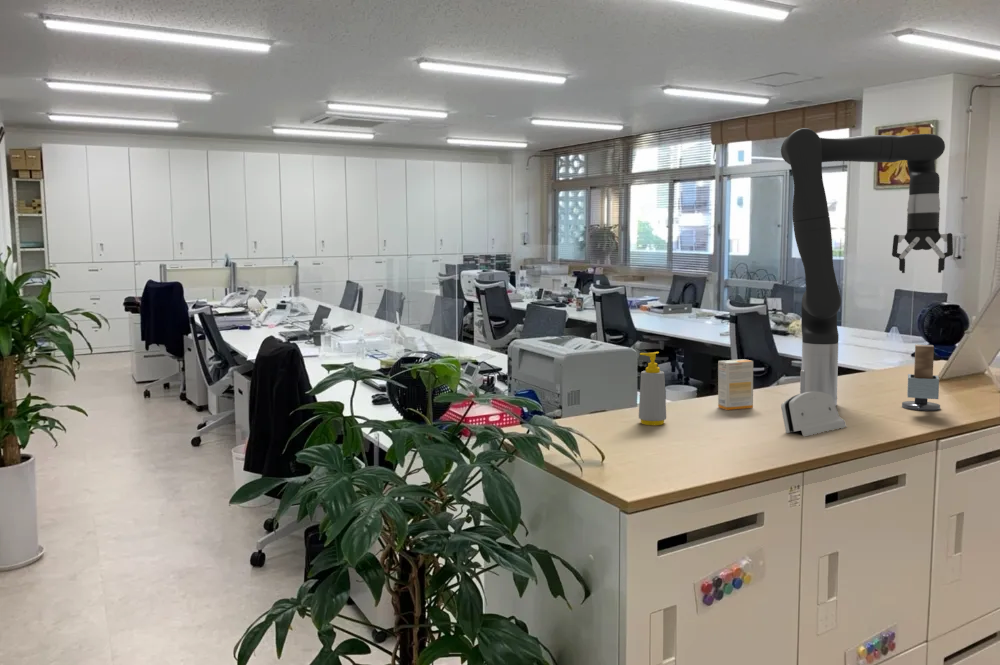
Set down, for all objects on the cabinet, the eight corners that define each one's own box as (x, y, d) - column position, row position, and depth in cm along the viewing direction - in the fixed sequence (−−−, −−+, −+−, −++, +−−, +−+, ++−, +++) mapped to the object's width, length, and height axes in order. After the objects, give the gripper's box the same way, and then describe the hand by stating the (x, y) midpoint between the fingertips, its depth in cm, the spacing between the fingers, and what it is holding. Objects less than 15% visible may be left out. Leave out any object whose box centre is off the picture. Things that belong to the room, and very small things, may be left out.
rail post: (914, 393, 194) (915, 346, 193) (913, 390, 197) (915, 344, 196) (932, 394, 192) (933, 346, 191) (931, 391, 196) (933, 345, 194)
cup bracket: (901, 416, 194) (903, 362, 193) (901, 403, 211) (903, 353, 210) (942, 419, 190) (944, 363, 189) (939, 406, 207) (941, 354, 206)
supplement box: (743, 405, 212) (744, 358, 211) (753, 408, 208) (754, 360, 207) (717, 407, 210) (717, 360, 209) (726, 410, 206) (727, 362, 204)
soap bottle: (633, 421, 194) (633, 351, 192) (657, 419, 196) (658, 350, 194) (646, 427, 187) (646, 354, 185) (671, 424, 189) (672, 353, 187)
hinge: (803, 436, 175) (792, 394, 176) (787, 439, 178) (775, 398, 180) (847, 427, 183) (835, 386, 185) (830, 430, 187) (819, 390, 189)
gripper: (953, 211, 203) (951, 272, 205) (893, 213, 210) (891, 272, 211) (955, 210, 197) (952, 273, 198) (893, 212, 203) (891, 273, 205)
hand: (921, 272), depth 205 cm, fingers open, 8 cm apart
